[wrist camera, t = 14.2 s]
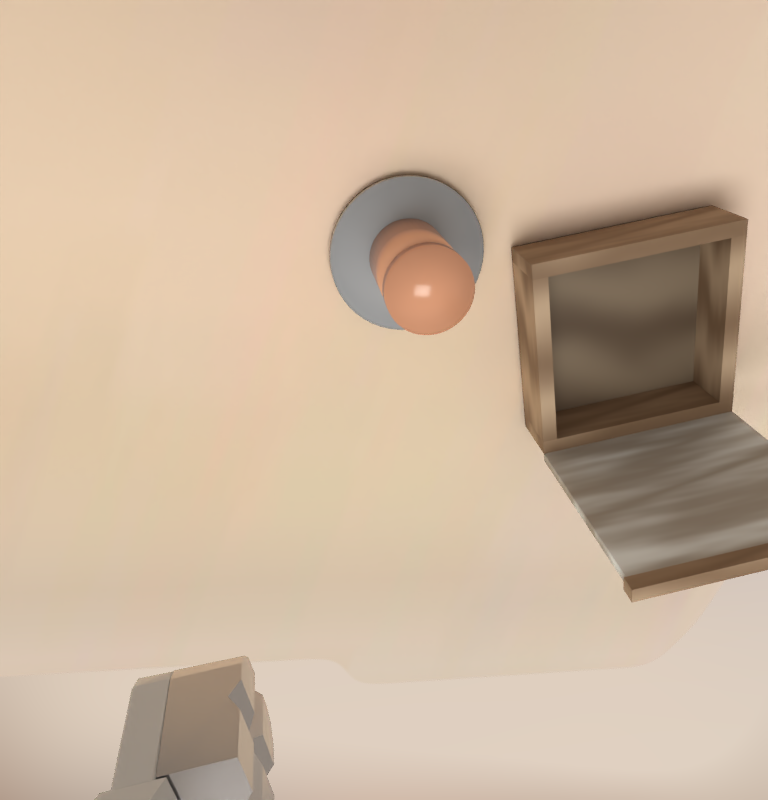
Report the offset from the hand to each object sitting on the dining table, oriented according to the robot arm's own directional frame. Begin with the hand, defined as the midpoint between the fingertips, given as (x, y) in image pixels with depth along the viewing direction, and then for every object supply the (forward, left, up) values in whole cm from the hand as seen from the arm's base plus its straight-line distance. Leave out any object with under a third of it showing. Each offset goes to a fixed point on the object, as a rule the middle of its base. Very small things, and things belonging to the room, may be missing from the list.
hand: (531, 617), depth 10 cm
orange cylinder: (+6, +4, -36) cm, 37 cm away
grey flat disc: (+6, +4, -37) cm, 38 cm away
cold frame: (+14, +18, -37) cm, 43 cm away
